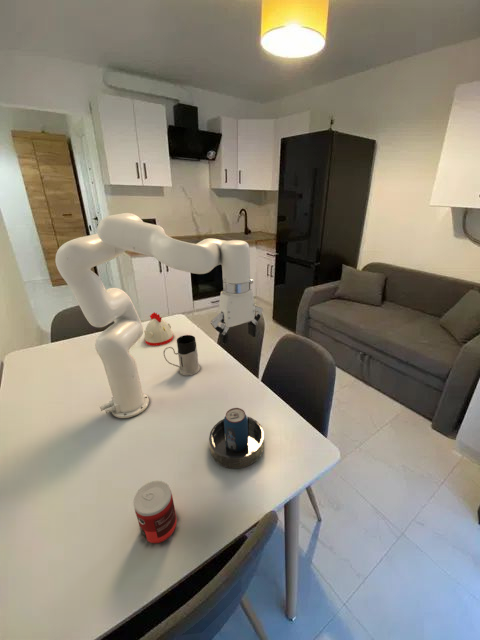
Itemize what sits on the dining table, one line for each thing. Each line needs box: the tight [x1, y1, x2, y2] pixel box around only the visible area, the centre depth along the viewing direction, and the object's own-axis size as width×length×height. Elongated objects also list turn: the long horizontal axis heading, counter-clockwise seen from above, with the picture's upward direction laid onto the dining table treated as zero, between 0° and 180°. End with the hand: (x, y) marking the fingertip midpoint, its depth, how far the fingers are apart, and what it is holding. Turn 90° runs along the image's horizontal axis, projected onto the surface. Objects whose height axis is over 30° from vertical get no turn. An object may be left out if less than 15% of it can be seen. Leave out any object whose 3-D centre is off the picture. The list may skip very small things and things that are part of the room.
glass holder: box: [162, 334, 201, 376], centre depth 122 cm, size 9×14×15 cm, turn 125°
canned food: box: [133, 480, 178, 544], centre depth 66 cm, size 8×8×11 cm
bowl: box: [208, 416, 265, 469], centre depth 88 cm, size 16×16×4 cm
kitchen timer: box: [143, 312, 174, 347], centre depth 148 cm, size 14×14×15 cm
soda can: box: [223, 407, 248, 452], centre depth 87 cm, size 7×7×12 cm
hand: (238, 339), depth 88 cm, fingers open, 9 cm apart
